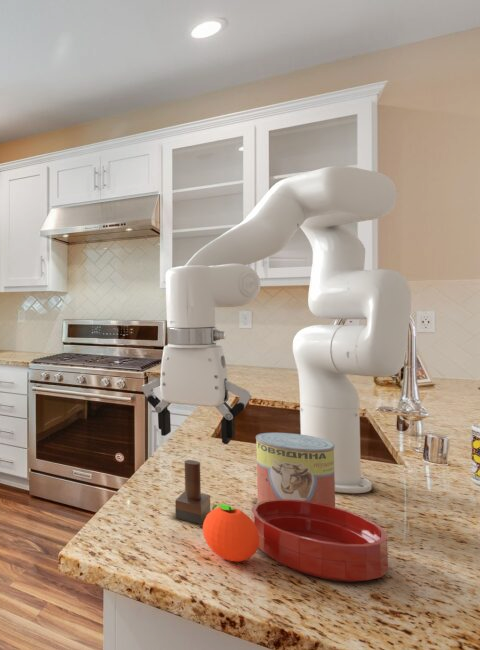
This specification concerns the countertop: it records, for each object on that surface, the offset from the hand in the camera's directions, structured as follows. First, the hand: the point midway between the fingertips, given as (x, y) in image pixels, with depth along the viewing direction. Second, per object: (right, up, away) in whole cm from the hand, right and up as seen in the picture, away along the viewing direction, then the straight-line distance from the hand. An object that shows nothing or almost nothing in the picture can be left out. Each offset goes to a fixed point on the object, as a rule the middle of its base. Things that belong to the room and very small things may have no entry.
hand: (195, 437), depth 81 cm
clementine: (-2, -13, -14) cm, 20 cm away
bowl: (+10, -13, -14) cm, 22 cm away
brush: (-1, -13, -1) cm, 13 cm away
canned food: (+18, -13, +1) cm, 22 cm away
